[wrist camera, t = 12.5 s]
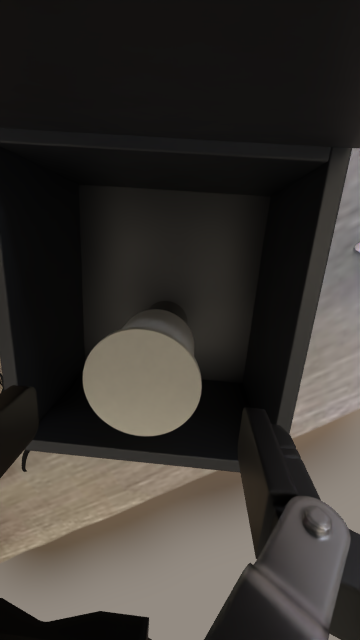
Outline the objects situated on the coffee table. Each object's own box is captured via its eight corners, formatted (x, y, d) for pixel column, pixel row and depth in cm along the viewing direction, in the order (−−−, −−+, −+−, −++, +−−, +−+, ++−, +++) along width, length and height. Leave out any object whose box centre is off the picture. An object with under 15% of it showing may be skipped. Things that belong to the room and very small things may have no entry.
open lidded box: (248, 387, 25) (280, 477, 15) (80, 371, 25) (11, 449, 16) (280, 187, 20) (354, 140, 11) (72, 174, 21) (-33, 118, 11)
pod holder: (185, 343, 23) (182, 372, 18) (143, 340, 23) (129, 367, 18) (189, 302, 22) (187, 320, 17) (145, 298, 22) (130, 315, 17)
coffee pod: (108, 371, 18) (74, 420, 13) (123, 292, 17) (91, 315, 12) (188, 392, 18) (184, 448, 13) (210, 315, 17) (216, 347, 12)
